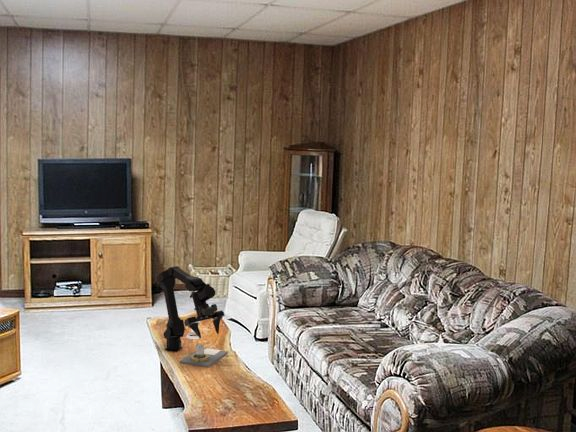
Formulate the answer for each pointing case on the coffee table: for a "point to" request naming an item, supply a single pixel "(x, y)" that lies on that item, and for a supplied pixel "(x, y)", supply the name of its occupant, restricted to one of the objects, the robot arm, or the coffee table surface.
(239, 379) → the coffee table surface
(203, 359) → the brass octagonal ring
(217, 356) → the board
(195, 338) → the hook
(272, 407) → the coffee table surface
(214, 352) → the mat
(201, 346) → the peg
